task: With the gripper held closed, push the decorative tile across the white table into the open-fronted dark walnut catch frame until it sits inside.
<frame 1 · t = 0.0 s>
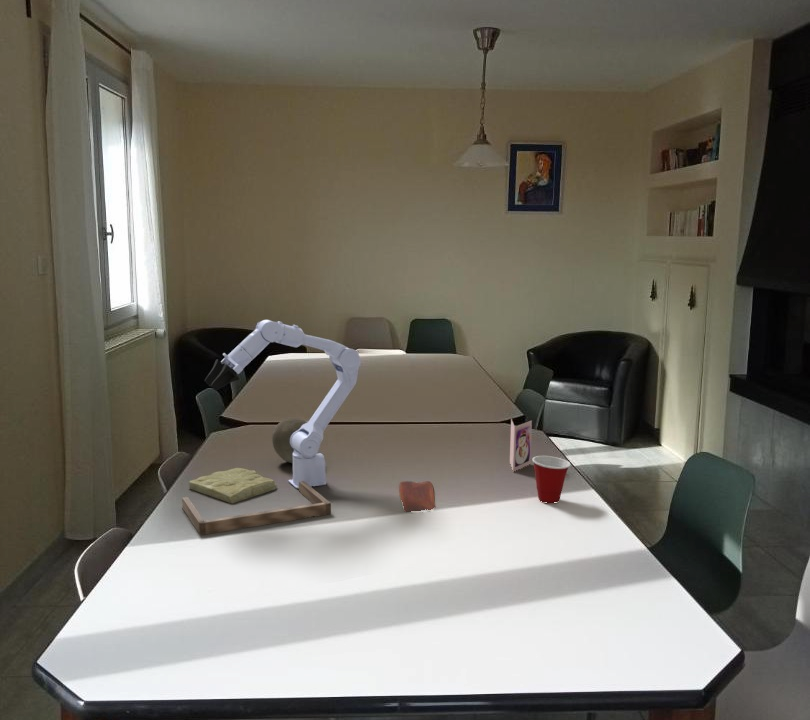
hand: (210, 385, 218), 32 cm above the table, tool tilted 50°, fingers open, 7 cm apart
cantaloupe: (293, 463, 257), on the table
greeting card: (514, 467, 255), on the table
catch frame: (251, 505, 216), on the table
decorative tile: (235, 490, 231), on the table
plastic cup: (549, 501, 223), on the table
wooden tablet: (416, 499, 225), on the table
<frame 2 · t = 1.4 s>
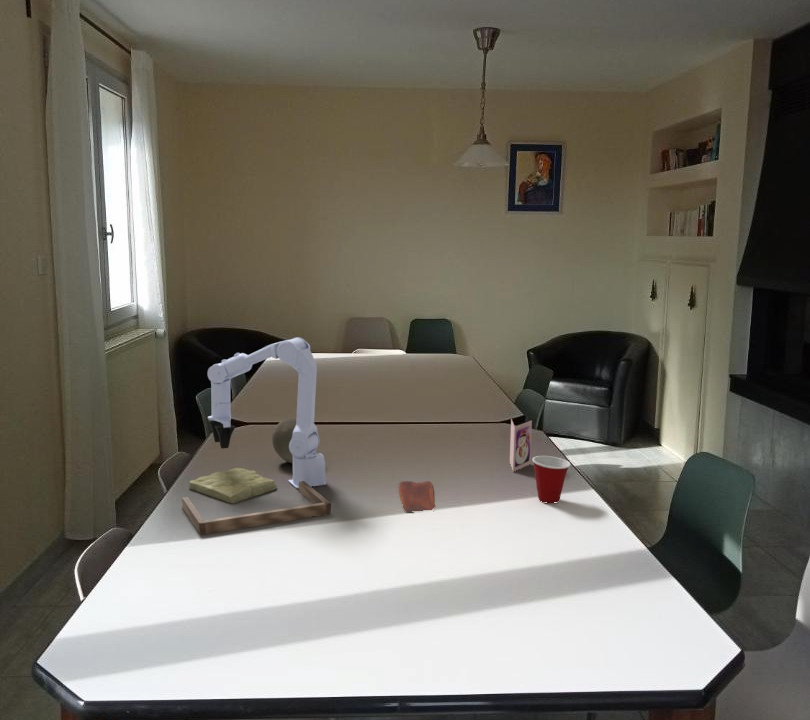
hand: (221, 444, 241), 10 cm above the table, tool pointing down, fingers open, 7 cm apart
nothing on the table moved.
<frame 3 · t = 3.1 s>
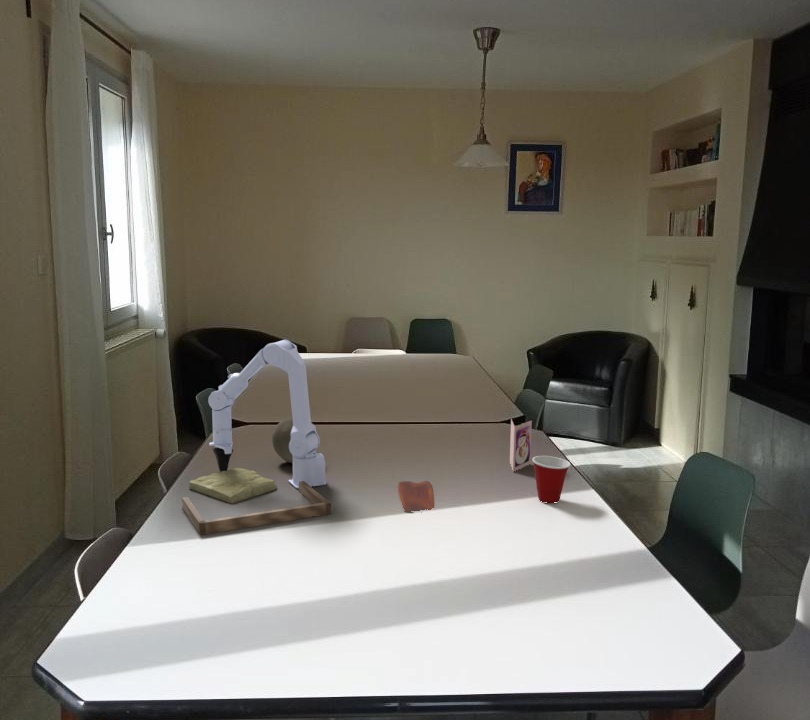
hand: (223, 470, 243), 1 cm above the table, tool pointing down, fingers closed
nothing on the table moved.
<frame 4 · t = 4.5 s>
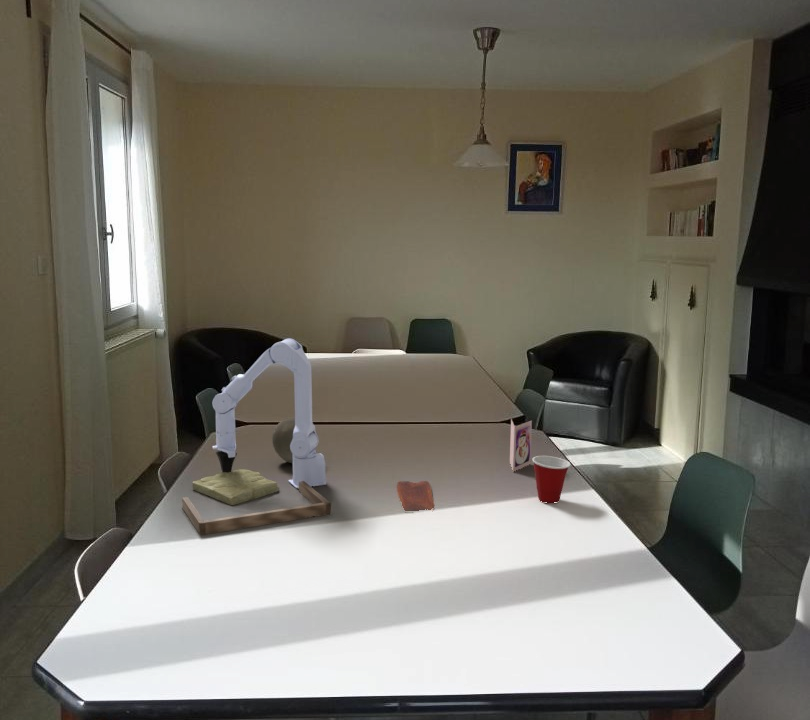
hand: (226, 474, 239), 1 cm above the table, tool pointing down, fingers closed
decorative tile: (237, 491, 229), on the table
everything else where it was.
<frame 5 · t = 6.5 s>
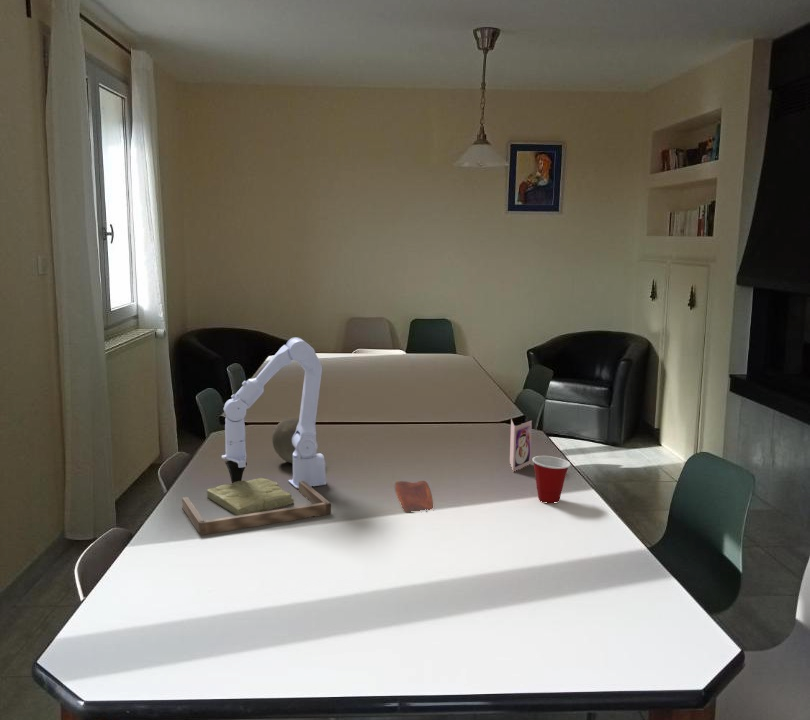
hand: (236, 484, 229), 1 cm above the table, tool pointing down, fingers closed
decorative tile: (252, 501, 221), on the table, touching gripper
everything else where it was.
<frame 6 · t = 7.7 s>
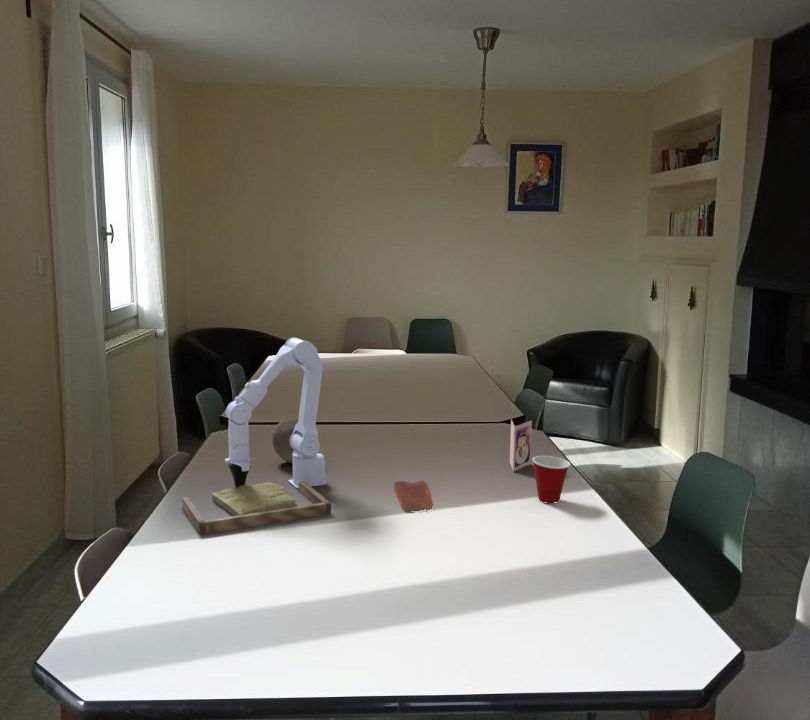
hand: (239, 488, 226), 1 cm above the table, tool pointing down, fingers closed
decorative tile: (256, 506, 218), on the table, touching gripper
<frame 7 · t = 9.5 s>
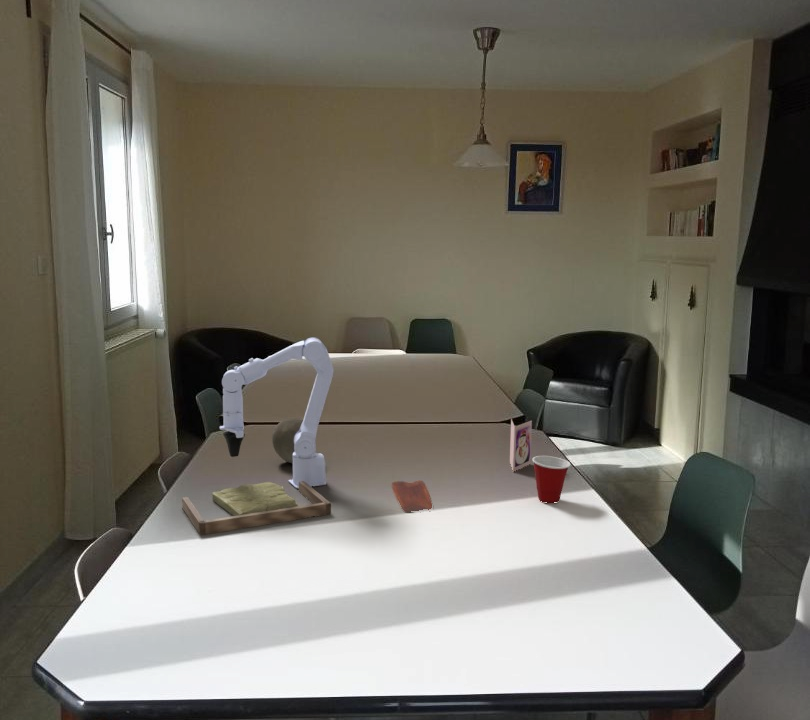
hand: (234, 456, 231), 9 cm above the table, tool pointing down, fingers closed
decorative tile: (257, 506, 217), on the table
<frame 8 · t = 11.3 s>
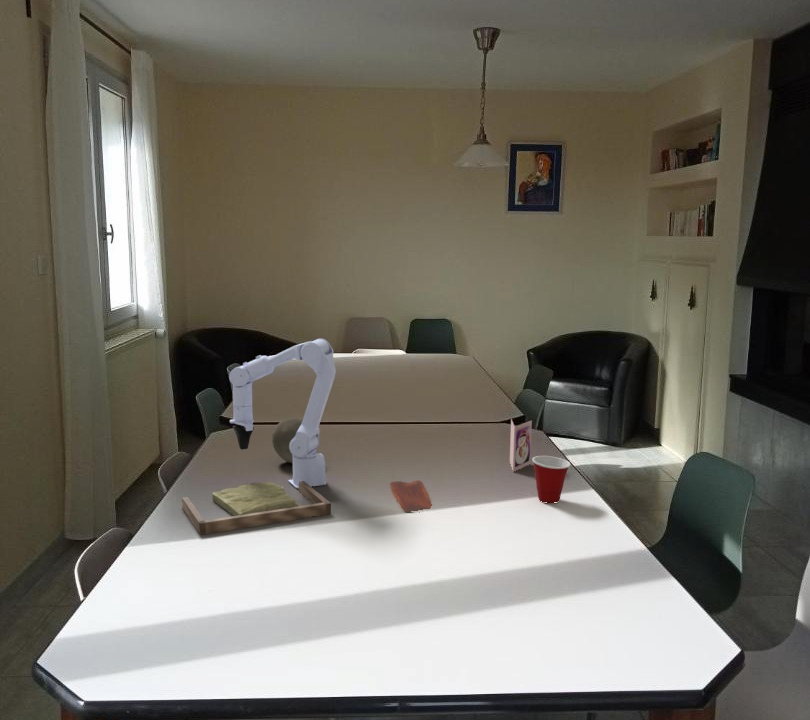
hand: (243, 448, 239), 9 cm above the table, tool pointing down, fingers closed
at the end: decorative tile inside the target area on the catch frame (2.4 cm from its centre), point -0.8 cm above the catch frame's base; decorative tile moved 16.3 cm from its start; decorative tile tilted 0° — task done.
